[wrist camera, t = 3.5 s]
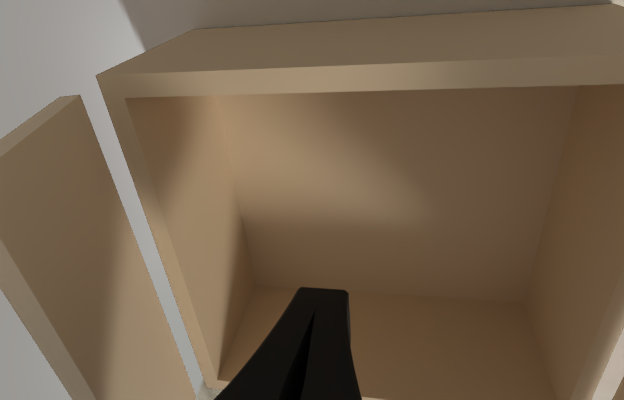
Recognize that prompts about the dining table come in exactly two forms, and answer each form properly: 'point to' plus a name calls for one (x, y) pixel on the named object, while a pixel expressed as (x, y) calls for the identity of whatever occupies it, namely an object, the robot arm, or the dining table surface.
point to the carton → (393, 192)
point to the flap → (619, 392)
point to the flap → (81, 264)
